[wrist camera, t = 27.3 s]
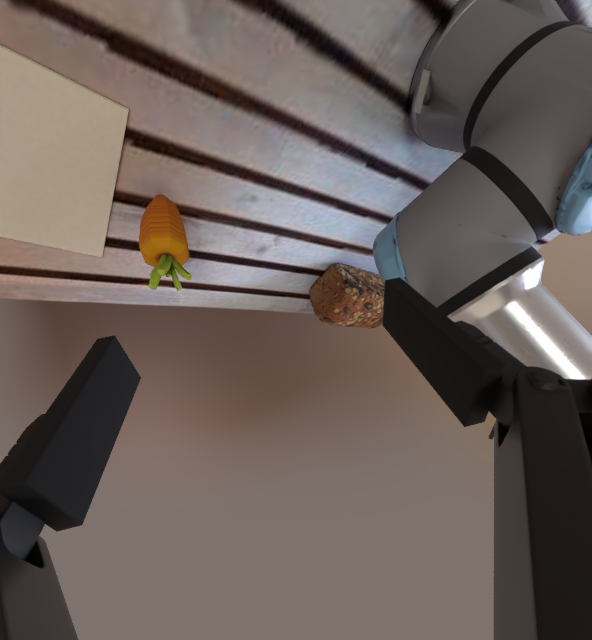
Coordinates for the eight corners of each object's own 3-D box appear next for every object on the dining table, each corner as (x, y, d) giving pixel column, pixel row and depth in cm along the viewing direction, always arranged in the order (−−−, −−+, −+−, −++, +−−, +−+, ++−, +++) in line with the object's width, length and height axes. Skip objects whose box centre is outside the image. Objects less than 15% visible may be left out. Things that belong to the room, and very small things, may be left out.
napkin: (-227, -70, 16) (-232, -70, 16) (128, 108, 27) (128, 110, 27) (-113, 210, 28) (-115, 213, 28) (102, 255, 39) (102, 257, 39)
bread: (304, 291, 60) (319, 329, 55) (335, 256, 54) (356, 295, 48) (360, 304, 71) (377, 336, 66) (391, 276, 65) (412, 309, 60)
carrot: (187, 186, 35) (200, 271, 27) (178, 218, 38) (187, 303, 30) (142, 171, 32) (142, 261, 24) (136, 207, 35) (135, 298, 27)
